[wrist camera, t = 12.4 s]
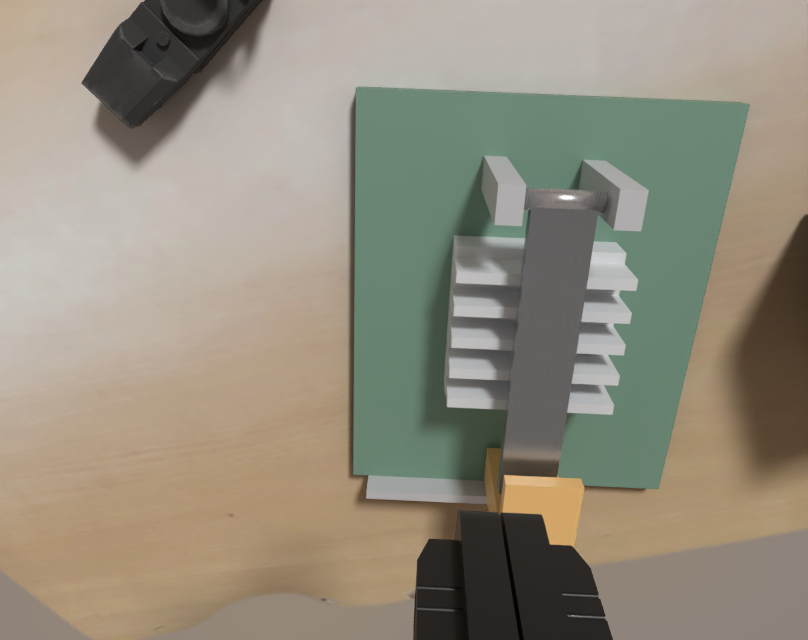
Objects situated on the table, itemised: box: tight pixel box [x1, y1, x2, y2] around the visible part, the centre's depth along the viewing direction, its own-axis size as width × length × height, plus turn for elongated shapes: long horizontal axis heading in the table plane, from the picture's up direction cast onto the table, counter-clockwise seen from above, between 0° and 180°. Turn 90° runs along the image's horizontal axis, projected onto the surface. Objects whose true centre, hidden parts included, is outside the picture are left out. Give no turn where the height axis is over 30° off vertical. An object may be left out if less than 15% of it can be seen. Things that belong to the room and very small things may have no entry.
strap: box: [497, 188, 608, 494], centre depth 32 cm, size 4×16×1 cm, turn 178°
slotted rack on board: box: [353, 87, 750, 504], centre depth 35 cm, size 20×25×8 cm
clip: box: [484, 448, 584, 548], centre depth 38 cm, size 4×5×8 cm
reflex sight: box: [82, 0, 262, 129], centre depth 31 cm, size 4×10×5 cm, turn 134°
